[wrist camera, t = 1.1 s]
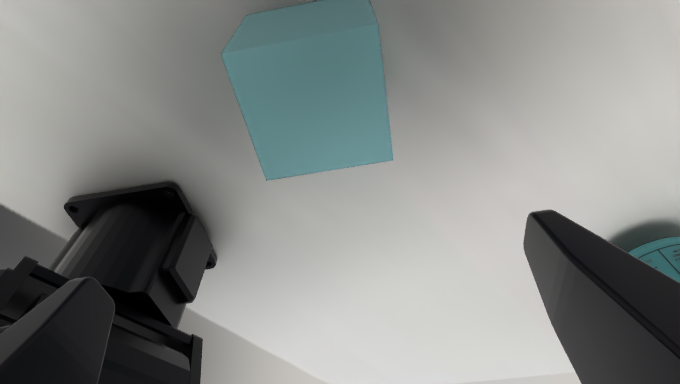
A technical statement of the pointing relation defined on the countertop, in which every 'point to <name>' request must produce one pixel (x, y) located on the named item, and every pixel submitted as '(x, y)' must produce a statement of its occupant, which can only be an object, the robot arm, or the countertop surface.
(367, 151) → the teal cube
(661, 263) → the beverage bottle
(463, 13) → the countertop surface
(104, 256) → the robot arm
